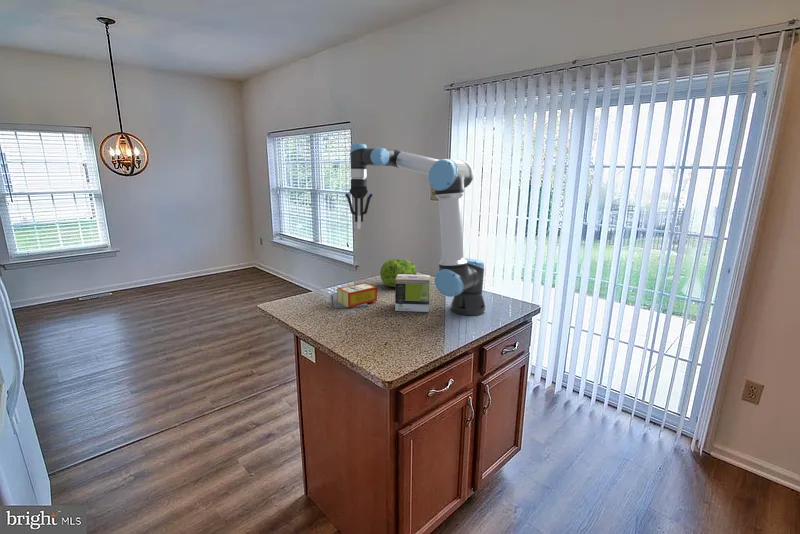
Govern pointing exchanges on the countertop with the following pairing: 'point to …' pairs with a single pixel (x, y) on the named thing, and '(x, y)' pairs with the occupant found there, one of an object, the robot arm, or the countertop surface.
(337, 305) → the mat
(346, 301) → the baking soda box
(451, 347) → the countertop surface
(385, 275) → the lettuce
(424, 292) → the tea box
